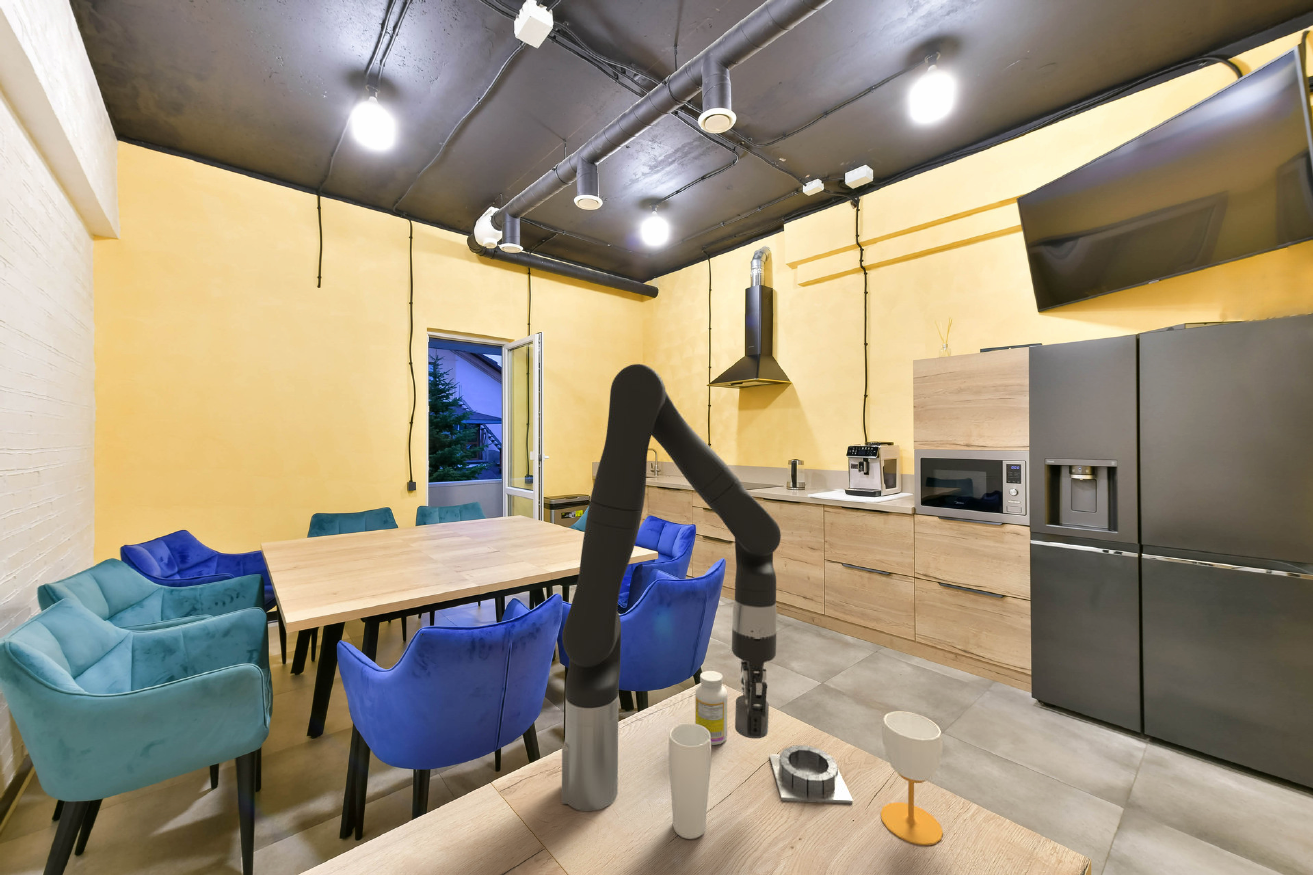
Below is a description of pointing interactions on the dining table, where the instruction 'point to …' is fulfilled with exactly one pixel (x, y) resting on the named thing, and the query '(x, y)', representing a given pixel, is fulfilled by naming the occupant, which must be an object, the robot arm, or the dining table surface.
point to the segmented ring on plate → (808, 776)
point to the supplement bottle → (712, 706)
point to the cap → (742, 718)
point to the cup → (912, 773)
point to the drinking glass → (689, 778)
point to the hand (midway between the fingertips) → (751, 724)
